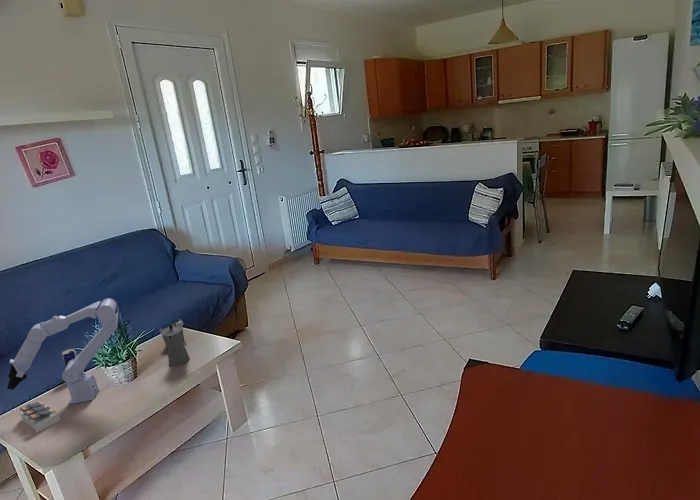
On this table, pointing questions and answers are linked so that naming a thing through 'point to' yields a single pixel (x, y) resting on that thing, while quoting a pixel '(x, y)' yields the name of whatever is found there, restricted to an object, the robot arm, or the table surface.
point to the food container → (178, 324)
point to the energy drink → (68, 355)
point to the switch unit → (41, 419)
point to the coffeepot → (175, 345)
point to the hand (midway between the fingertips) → (10, 383)
